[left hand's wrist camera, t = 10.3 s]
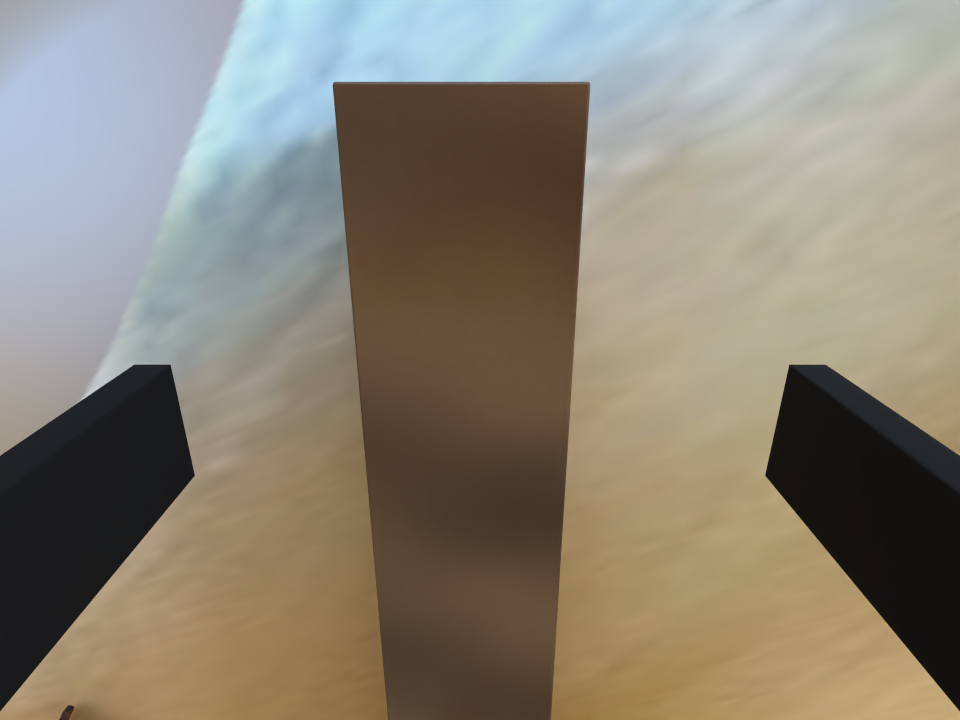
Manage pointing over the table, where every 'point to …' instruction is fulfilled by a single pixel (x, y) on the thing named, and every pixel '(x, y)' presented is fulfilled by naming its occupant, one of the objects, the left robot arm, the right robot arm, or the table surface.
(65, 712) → the eyeglasses
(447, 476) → the post
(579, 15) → the table surface
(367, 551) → the table surface
